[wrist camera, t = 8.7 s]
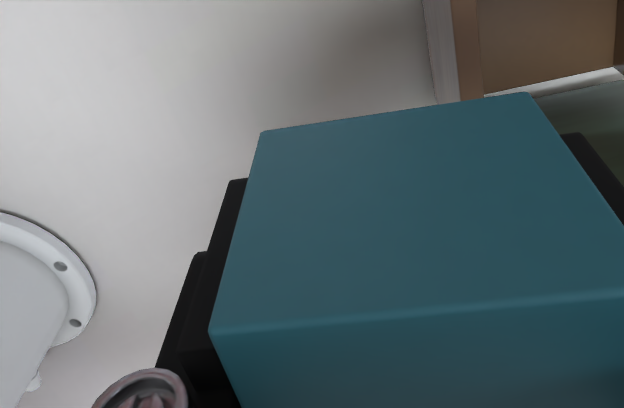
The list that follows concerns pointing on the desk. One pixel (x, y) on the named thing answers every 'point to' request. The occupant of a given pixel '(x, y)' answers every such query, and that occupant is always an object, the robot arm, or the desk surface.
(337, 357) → the block
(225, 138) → the desk surface
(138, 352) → the desk surface
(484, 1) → the drawer
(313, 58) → the desk surface
